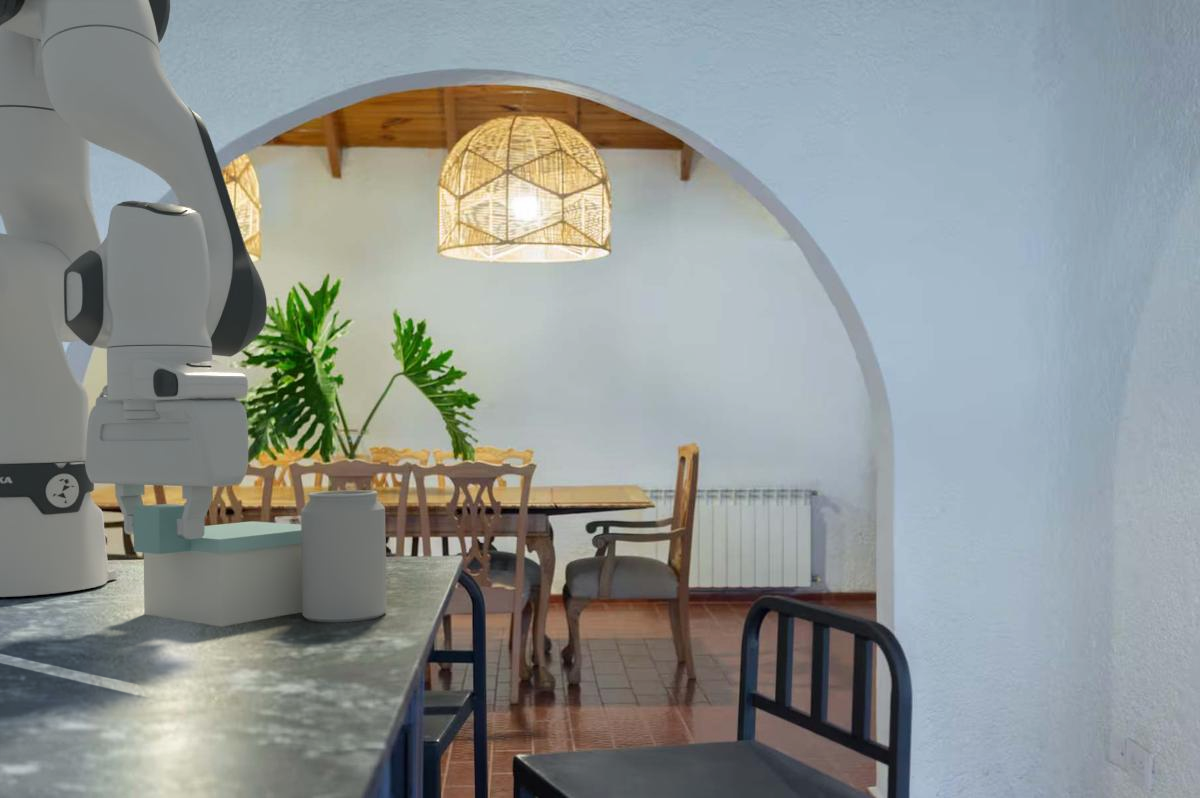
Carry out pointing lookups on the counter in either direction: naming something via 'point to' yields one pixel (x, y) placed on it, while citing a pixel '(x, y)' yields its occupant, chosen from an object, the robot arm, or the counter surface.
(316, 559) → the can
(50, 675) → the counter surface
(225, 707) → the counter surface
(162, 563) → the tub
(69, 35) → the robot arm
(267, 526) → the lid
